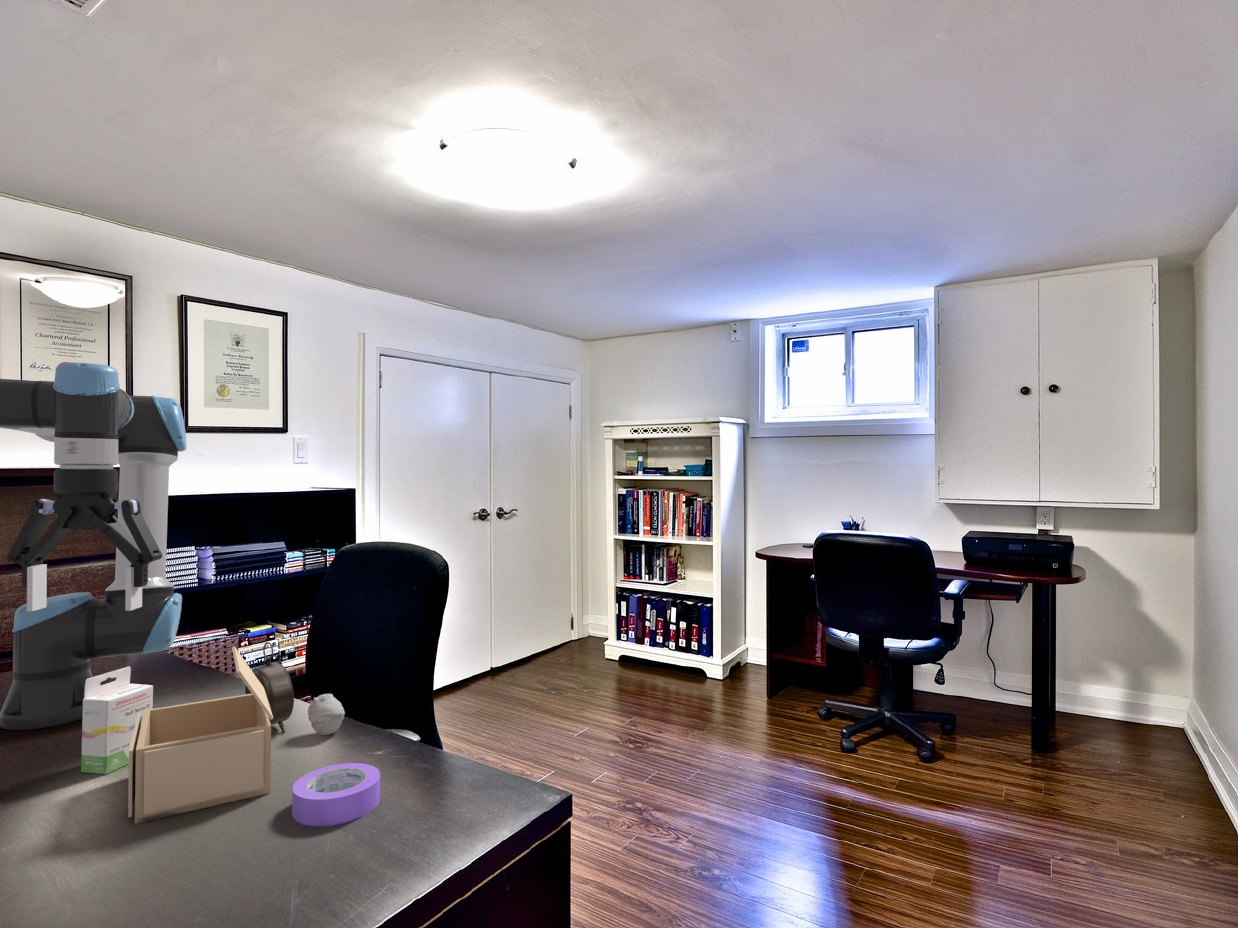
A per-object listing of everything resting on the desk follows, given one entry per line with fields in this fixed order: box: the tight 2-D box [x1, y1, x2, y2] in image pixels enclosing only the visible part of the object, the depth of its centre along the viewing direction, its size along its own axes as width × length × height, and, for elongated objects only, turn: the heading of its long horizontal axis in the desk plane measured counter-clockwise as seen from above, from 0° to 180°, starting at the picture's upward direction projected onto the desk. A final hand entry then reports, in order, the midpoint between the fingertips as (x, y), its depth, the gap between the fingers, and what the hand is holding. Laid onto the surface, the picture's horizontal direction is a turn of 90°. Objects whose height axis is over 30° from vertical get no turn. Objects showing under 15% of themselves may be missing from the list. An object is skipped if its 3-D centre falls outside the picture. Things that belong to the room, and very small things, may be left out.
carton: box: [127, 694, 272, 824], centre depth 102 cm, size 20×17×10 cm
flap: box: [231, 645, 273, 720], centre depth 106 cm, size 17×1×9 cm, turn 32°
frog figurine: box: [307, 693, 346, 736], centre depth 122 cm, size 6×7×7 cm
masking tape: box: [291, 762, 381, 827], centre depth 96 cm, size 12×12×4 cm
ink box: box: [80, 666, 154, 775], centre depth 110 cm, size 9×5×15 cm, turn 168°
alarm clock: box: [244, 641, 295, 734], centre depth 124 cm, size 11×5×16 cm, turn 52°
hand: (85, 609), depth 100 cm, fingers open, 13 cm apart
